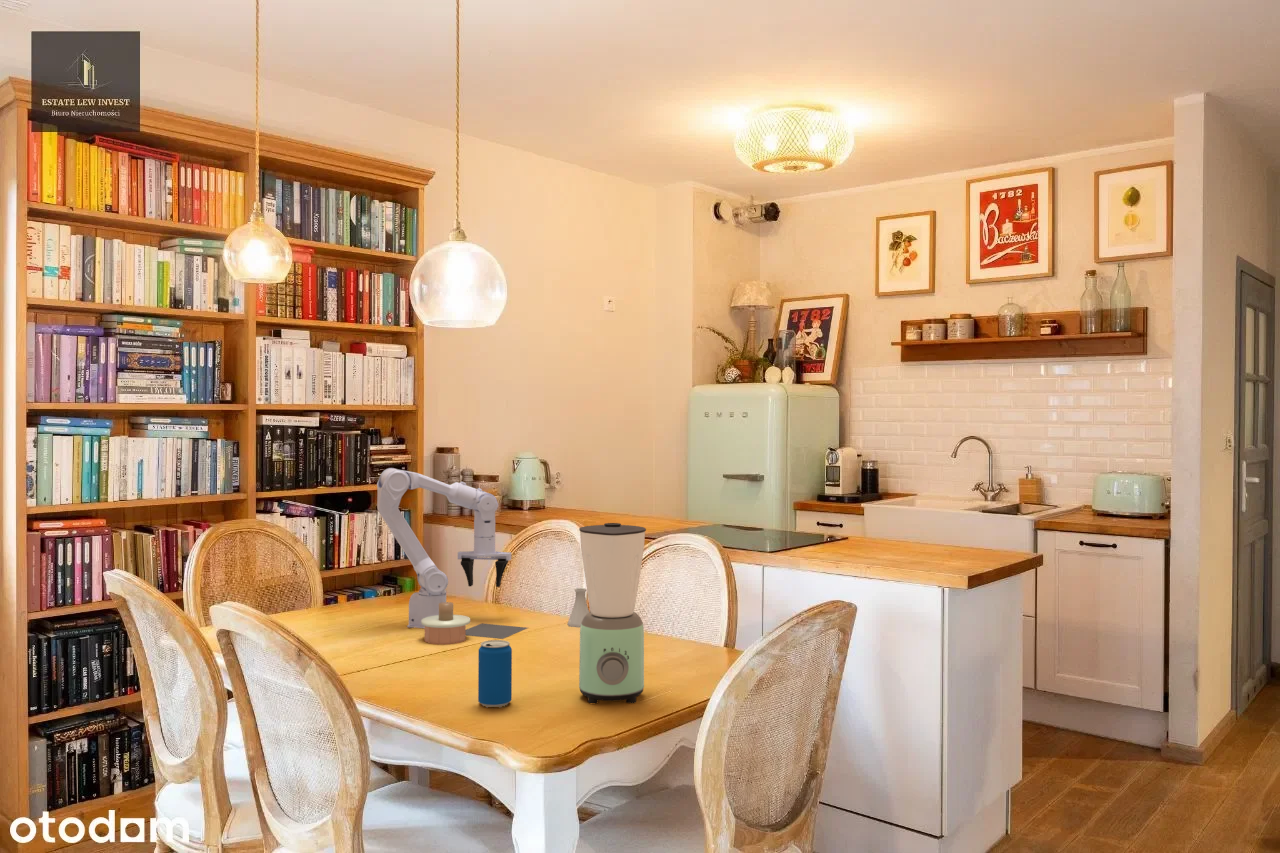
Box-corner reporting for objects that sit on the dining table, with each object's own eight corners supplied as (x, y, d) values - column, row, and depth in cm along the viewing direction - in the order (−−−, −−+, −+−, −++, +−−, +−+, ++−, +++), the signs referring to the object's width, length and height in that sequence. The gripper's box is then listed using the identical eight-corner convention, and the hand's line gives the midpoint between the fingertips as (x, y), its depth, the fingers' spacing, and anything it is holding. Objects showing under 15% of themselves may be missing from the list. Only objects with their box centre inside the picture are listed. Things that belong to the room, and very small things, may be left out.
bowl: (416, 643, 246) (416, 625, 246) (438, 635, 255) (438, 617, 255) (451, 647, 243) (452, 628, 243) (472, 638, 252) (473, 620, 252)
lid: (411, 625, 246) (411, 605, 246) (439, 616, 257) (439, 597, 257) (452, 629, 242) (452, 609, 241) (479, 620, 253) (479, 601, 252)
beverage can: (479, 699, 198) (479, 639, 198) (512, 699, 199) (512, 639, 199) (476, 709, 192) (477, 647, 192) (510, 708, 192) (511, 646, 192)
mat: (454, 635, 255) (454, 634, 255) (481, 624, 268) (481, 623, 268) (502, 640, 250) (502, 638, 250) (528, 629, 263) (528, 627, 263)
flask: (595, 623, 271) (595, 587, 271) (591, 629, 264) (591, 591, 264) (569, 622, 272) (569, 586, 271) (564, 628, 264) (565, 591, 264)
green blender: (648, 708, 193) (649, 528, 193) (578, 709, 192) (580, 528, 192) (640, 682, 212) (641, 518, 212) (577, 683, 211) (578, 518, 211)
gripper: (454, 537, 268) (454, 588, 268) (507, 538, 266) (507, 589, 266) (461, 534, 275) (461, 583, 275) (513, 535, 273) (513, 584, 273)
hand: (484, 586), depth 271 cm, fingers open, 7 cm apart
